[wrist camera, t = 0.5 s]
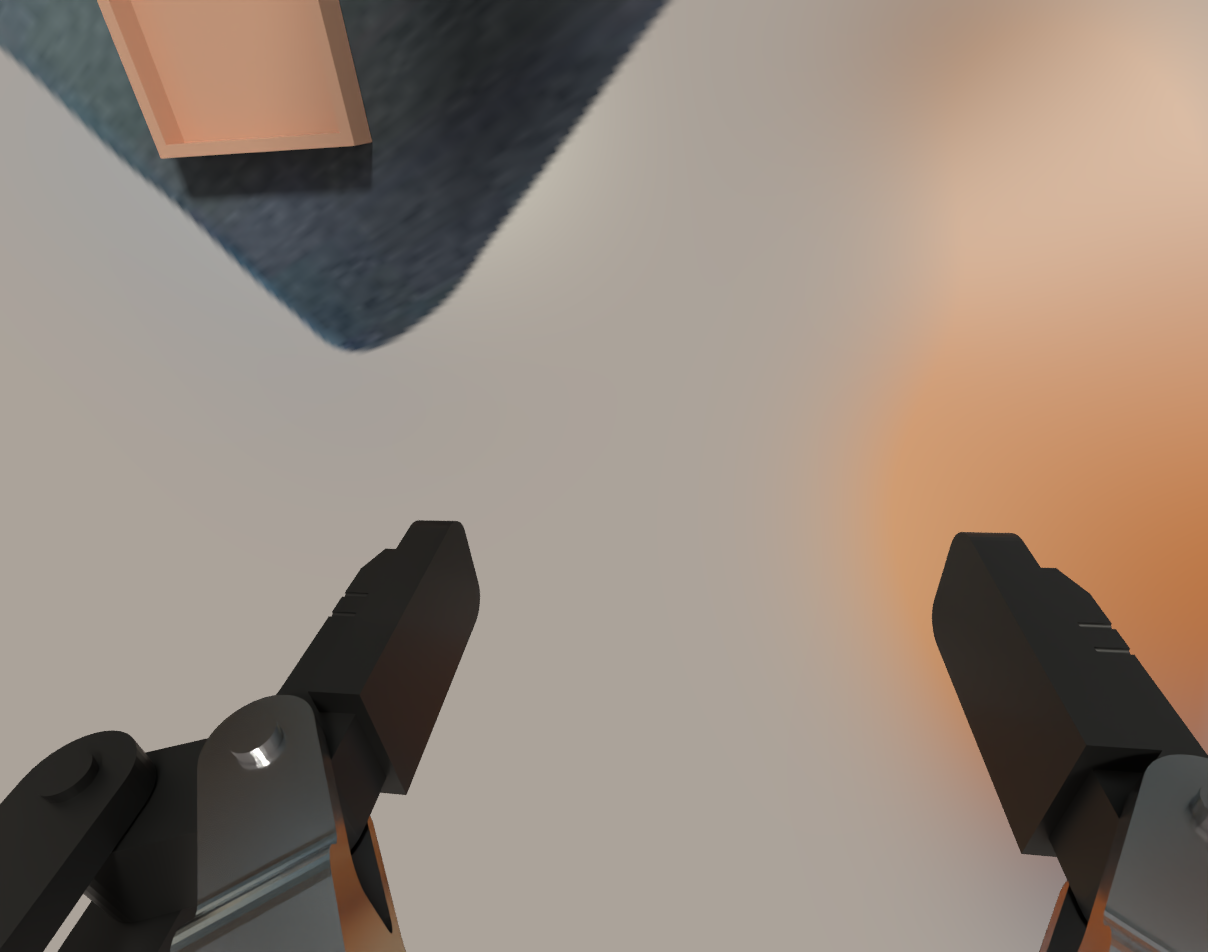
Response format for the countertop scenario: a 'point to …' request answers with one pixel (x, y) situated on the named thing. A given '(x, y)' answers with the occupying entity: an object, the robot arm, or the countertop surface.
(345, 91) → the dish
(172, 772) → the robot arm
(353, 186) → the countertop surface
